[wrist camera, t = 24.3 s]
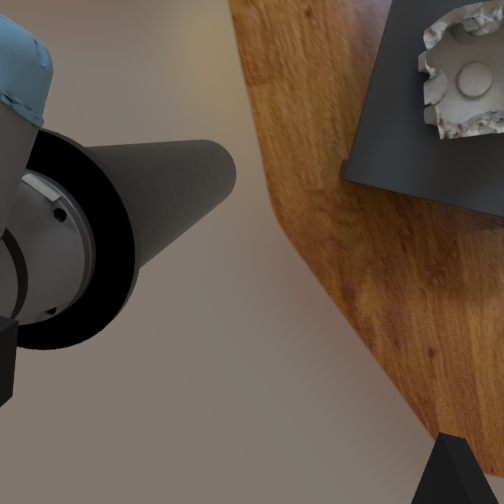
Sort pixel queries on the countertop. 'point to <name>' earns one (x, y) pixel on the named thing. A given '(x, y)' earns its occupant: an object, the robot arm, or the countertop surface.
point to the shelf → (419, 125)
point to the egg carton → (465, 71)
